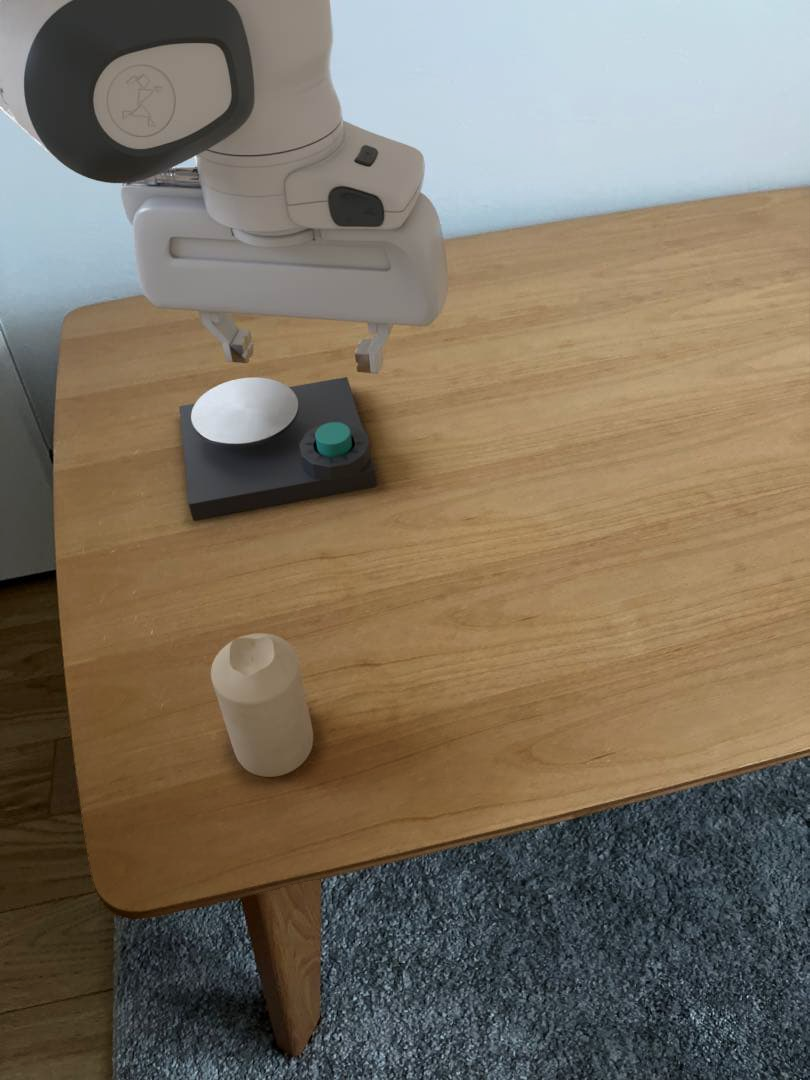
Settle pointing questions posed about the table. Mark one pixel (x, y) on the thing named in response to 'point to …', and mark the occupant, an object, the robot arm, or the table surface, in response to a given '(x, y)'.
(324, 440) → the button
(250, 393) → the silver metal disc
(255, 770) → the candle
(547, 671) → the table surface
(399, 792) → the table surface
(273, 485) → the scale
